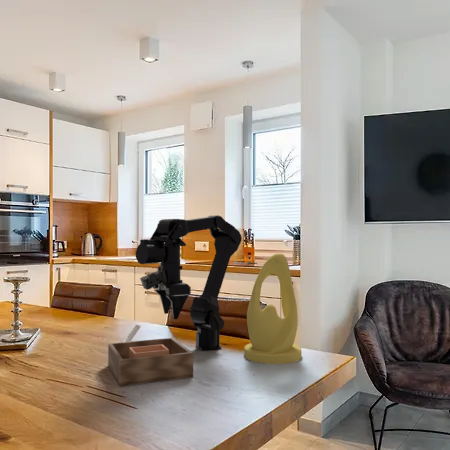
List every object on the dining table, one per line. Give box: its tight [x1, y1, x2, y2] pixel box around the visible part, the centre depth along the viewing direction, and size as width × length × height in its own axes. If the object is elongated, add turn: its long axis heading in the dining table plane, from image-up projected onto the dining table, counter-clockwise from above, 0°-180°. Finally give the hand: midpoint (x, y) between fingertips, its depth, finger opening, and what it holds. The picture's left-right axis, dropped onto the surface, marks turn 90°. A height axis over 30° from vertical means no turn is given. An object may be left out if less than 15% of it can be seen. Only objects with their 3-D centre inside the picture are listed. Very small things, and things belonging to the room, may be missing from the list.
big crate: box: [107, 337, 194, 387], centre depth 117 cm, size 18×18×6 cm
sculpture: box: [243, 253, 302, 365], centre depth 133 cm, size 17×17×30 cm
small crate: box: [129, 344, 169, 359], centre depth 117 cm, size 9×6×5 cm
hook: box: [123, 322, 142, 342], centre depth 132 cm, size 8×12×7 cm
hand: (170, 316), depth 131 cm, fingers open, 9 cm apart
